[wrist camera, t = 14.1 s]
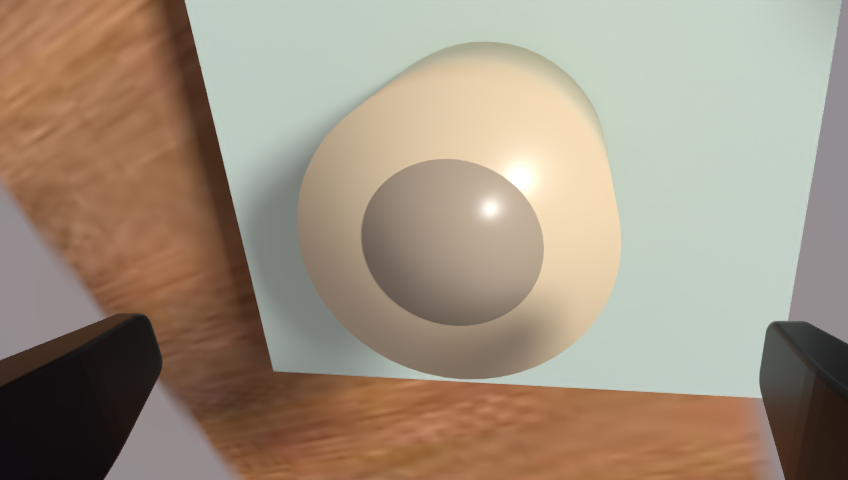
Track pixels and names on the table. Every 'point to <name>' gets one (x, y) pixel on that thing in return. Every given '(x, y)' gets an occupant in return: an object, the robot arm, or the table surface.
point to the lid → (626, 147)
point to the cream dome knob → (465, 214)
